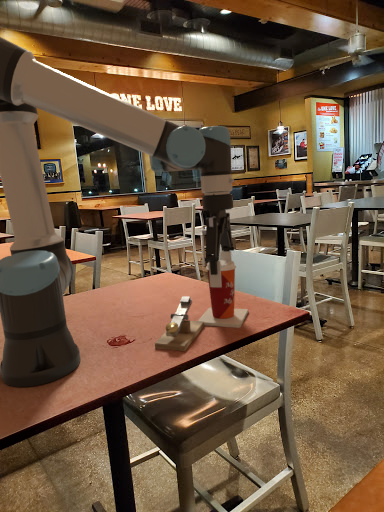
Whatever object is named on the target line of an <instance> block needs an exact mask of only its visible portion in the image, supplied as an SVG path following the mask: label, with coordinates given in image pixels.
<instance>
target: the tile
mask: <svg viewBox="0 0 384 512" xmlns="http://www.w3.org/2000/svg"><path fill="white" fill-rule="evenodd" d="M248 314H249V309H248V308H234V316H233V317H231V318H227V319H218V318H215V317H213V314H212V306H211V307H208V308H207V309H206V310H205V312H204V313H203V314H202V315H201V316H200V317H199V319H198V320H197V321H203V322H204V326H209V327H224V328H235V329H239V328H241V327H242V325H243V324H244V321H245V320H246V317H247V315H248Z"/></svg>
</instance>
